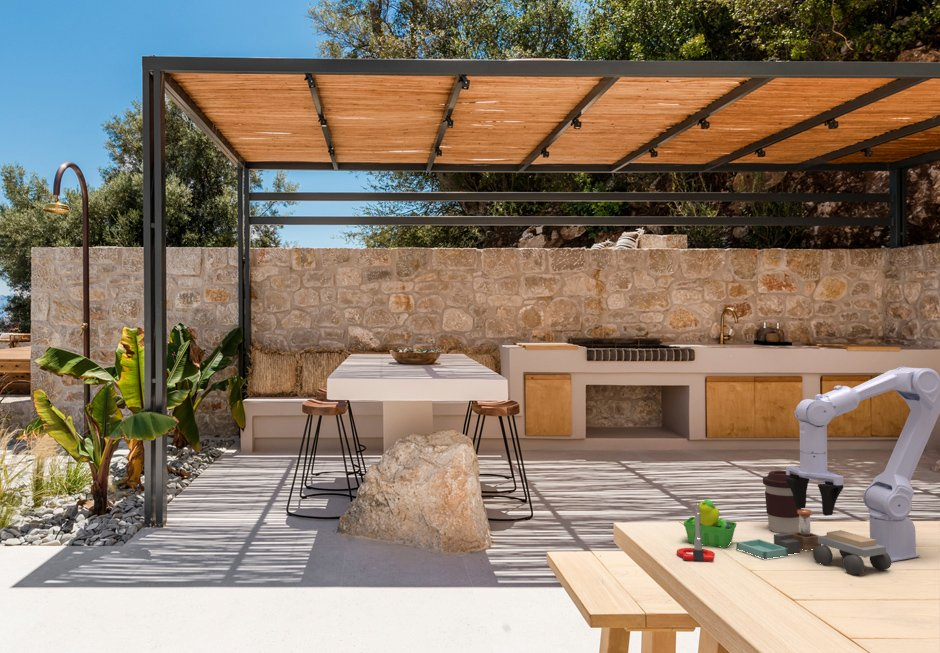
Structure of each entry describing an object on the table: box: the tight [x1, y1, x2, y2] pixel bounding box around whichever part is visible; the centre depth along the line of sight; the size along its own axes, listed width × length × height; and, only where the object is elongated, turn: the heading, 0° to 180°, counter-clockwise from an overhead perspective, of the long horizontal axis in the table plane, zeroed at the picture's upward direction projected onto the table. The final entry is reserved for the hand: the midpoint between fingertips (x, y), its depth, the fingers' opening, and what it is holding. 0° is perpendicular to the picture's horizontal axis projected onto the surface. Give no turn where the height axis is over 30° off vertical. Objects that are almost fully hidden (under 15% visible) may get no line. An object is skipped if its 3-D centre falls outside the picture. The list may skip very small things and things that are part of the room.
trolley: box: [812, 529, 892, 576], centre depth 166 cm, size 12×10×7 cm
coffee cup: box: [762, 470, 802, 534], centre depth 197 cm, size 10×10×15 cm
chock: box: [773, 533, 801, 555], centre depth 177 cm, size 4×4×4 cm
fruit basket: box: [682, 499, 738, 548], centre depth 185 cm, size 11×9×11 cm
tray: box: [735, 538, 789, 559], centre depth 176 cm, size 7×9×2 cm
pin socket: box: [789, 531, 822, 551], centre depth 181 cm, size 5×5×3 cm
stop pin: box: [797, 508, 813, 537], centre depth 181 cm, size 3×3×9 cm
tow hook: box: [676, 503, 716, 562], centre depth 175 cm, size 8×13×9 cm
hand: (814, 511), depth 173 cm, fingers open, 7 cm apart
